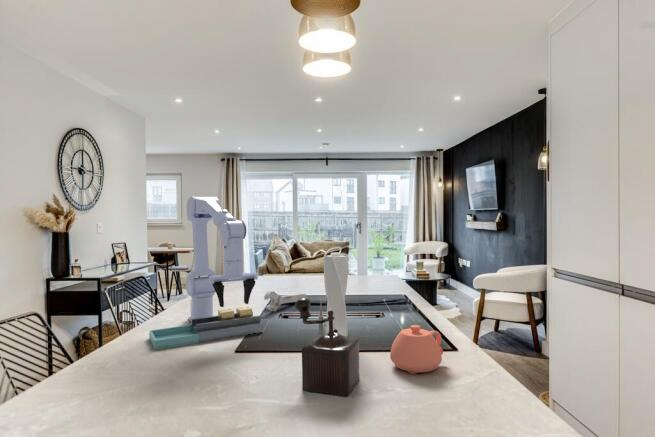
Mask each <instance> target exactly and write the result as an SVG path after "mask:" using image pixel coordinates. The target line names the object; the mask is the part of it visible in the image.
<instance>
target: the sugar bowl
mask: <svg viewBox="0 0 655 437" xmlns="http://www.w3.org/2000/svg"><path fill="white" fill-rule="evenodd" d="M434 335H436V339H435V336H434ZM441 344H442V334H441V333H440V332H439V331H437V330H430V331H429V330H427V329H423V328H421V325H419V324H412V325H410V328H405V329H401V330H400V332H399V333H398V334H397V335H396V337H395V339H394V341H393V342H392V345H391V348H390V353H389V357H390V360H391V361H392V363H393V364H394V365H395V366H396V367H397V368H398V369H399V370H403V371H406V372H408V374H411V375H416V374H417V373H428V372H433V371H435V370H436V369H437V368H439V367H438V366H440V365H441V363H442V360H443V357H442V355H443V354H444V350H443V348H442V347H441Z"/></svg>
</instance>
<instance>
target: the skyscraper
mask: <svg viewBox="0 0 655 437" xmlns="http://www.w3.org/2000/svg"><path fill="white" fill-rule="evenodd" d="M335 249H339V252H331V253H330V255H327V254H328V253H329V251H332V250H335ZM342 249H343V248H342V247H341V246H333V247H330V248H328V249H327V250H326V252H325V253H324V255H323V280H324V289H325V295H326V296H325V298H326V300H327V301H326V302H327V303H326V312H325V313H326V317H325V316H324V315H323V306H322V300H320V301H319V302H320V306H319V315H318V320H322V319H327V318H328V311H330V310H332V311H333V312H334V314H333V317H334V320H333V331H334V330H335V329H337V330H338V332H337V333H338V334H340V335H343V336H347V337H349V336H348V318H347V307H346V299H345V298H346V294H347V287H348V275H349V255H348V253H342ZM317 332H318V335H324V334H326V333H327V332H329V321H327V322H325V327H324V323H320V324H318V331H317Z"/></svg>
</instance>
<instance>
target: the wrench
mask: <svg viewBox="0 0 655 437" xmlns="http://www.w3.org/2000/svg"><path fill="white" fill-rule="evenodd" d="M302 298H307V295H306V294H305V293H296V294H289V295H288V294H287V295H280V294H278V293H277V292H276V291H273V290H269V291H266V293H265V294H264V300H267V301H268V300H270V302H269V304H267V306H266V309H267V310H268V311H272V312H274V313H275V312H277V310H278V309H279V307H280V306H281V305H282V304H288V303H289V304H290V303H296V301H298V300H299V299H302Z"/></svg>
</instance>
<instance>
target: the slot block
mask: <svg viewBox="0 0 655 437" xmlns="http://www.w3.org/2000/svg"><path fill="white" fill-rule="evenodd" d="M261 319H262V318H261V315H254V311H252V317H245V318H237V319H236V313H235V312H234V319H230V320H223V321H218V315H213V316H210V317H203V318H195V319H191V321H190V323H189V325H190V332H191V333H192V334H199V344H200V343H207V342H211V341H212V342H213V341H218V340H224V339H230V338H235V337H242V336H243V337H244V336H248V334H250V335H254V334H253V333H256V334H261V333H260V332H262V333H264V332H263V330H264V329H263V328H264V327H263V326H264V325H263V322H261Z"/></svg>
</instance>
